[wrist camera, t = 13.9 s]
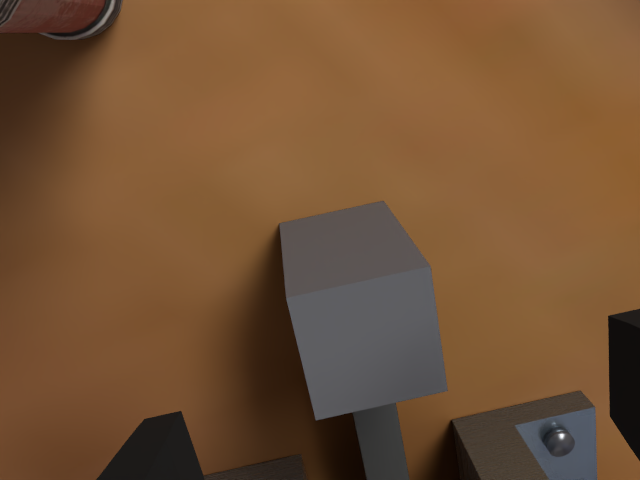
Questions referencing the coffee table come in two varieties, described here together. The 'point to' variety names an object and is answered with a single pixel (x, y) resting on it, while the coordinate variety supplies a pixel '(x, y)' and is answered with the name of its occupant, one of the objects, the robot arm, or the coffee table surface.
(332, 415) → the plug
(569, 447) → the housing
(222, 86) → the coffee table surface
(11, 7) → the lighter
